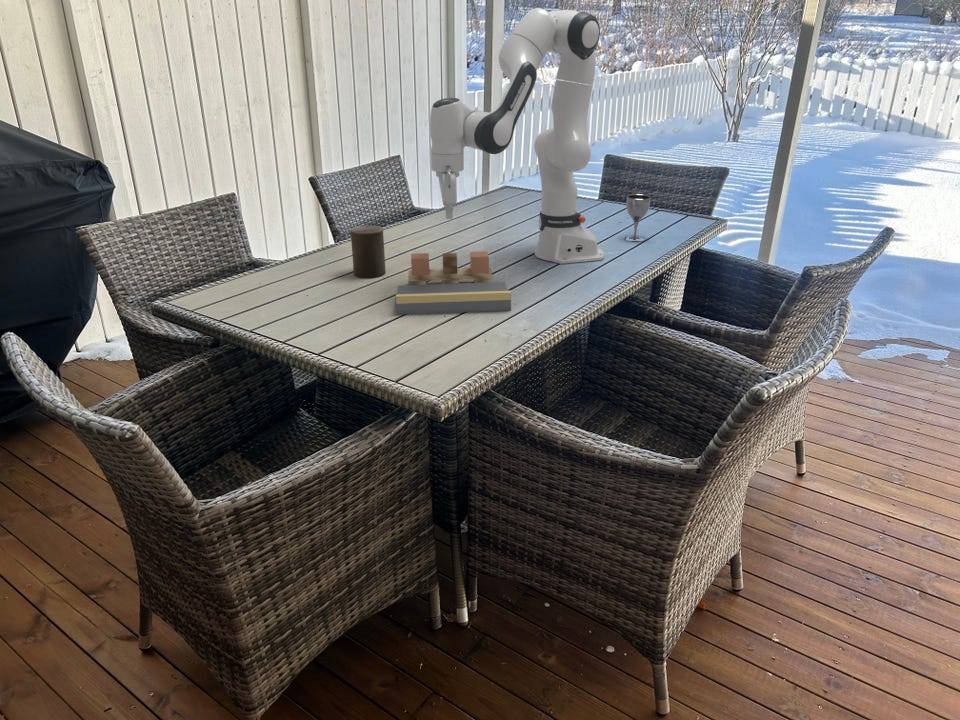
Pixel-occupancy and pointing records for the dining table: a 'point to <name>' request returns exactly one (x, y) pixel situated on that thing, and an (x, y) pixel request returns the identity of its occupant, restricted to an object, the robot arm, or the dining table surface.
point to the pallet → (449, 273)
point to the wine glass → (637, 209)
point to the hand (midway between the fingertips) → (448, 214)
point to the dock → (452, 298)
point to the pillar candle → (368, 251)
